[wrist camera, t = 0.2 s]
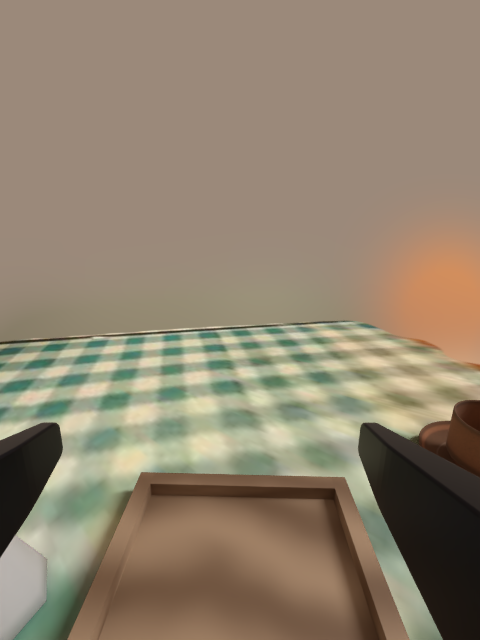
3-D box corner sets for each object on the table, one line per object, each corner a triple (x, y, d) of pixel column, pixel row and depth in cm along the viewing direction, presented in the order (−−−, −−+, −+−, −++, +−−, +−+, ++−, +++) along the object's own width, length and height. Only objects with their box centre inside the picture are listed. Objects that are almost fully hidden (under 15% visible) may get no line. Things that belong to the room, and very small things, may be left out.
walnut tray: (522, 993, 9) (541, 972, 9) (-47, 959, 9) (-65, 936, 9) (342, 495, 26) (344, 477, 26) (143, 490, 27) (141, 472, 26)
